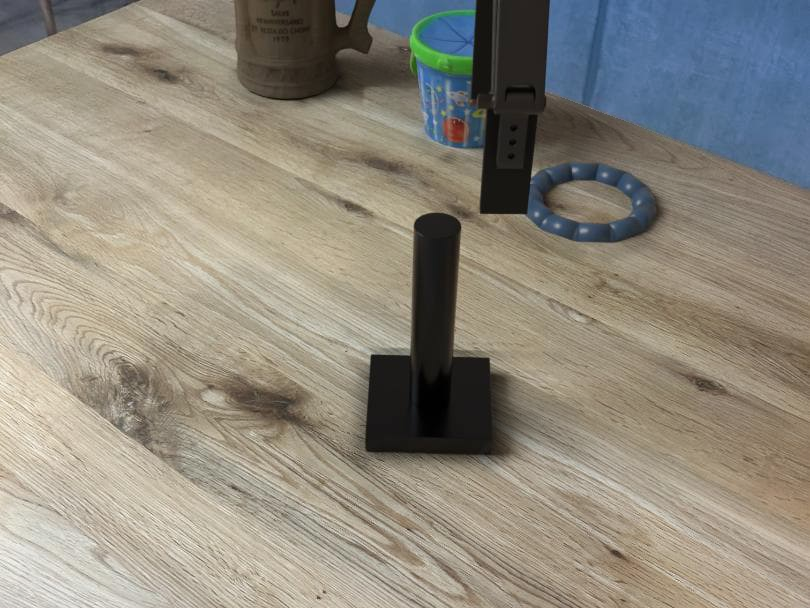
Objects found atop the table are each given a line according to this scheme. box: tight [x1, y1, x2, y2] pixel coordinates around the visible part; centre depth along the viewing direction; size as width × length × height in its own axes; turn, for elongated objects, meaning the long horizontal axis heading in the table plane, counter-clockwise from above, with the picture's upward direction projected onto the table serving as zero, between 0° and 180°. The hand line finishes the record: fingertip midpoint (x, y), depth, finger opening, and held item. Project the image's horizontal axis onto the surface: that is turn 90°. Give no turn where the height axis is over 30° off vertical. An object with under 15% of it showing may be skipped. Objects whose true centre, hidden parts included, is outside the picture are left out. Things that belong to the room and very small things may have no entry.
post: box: [364, 212, 495, 455], centre depth 72 cm, size 9×9×16 cm
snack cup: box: [409, 9, 486, 149], centre depth 100 cm, size 16×10×10 cm
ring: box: [524, 161, 658, 244], centre depth 94 cm, size 12×12×2 cm
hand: (496, 150), depth 65 cm, fingers open, 13 cm apart
